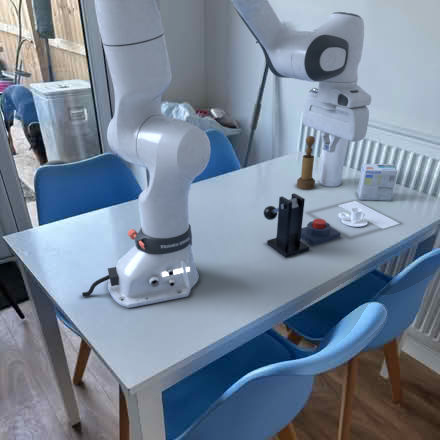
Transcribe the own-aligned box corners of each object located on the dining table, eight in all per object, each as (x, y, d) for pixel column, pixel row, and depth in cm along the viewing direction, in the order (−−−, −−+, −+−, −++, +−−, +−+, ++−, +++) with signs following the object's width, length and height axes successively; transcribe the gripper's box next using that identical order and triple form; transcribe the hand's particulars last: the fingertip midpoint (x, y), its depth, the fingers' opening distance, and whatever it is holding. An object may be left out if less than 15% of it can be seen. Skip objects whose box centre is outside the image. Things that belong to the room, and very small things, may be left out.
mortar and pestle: (293, 184, 158) (298, 134, 148) (309, 182, 160) (314, 132, 150) (301, 190, 153) (306, 139, 143) (317, 188, 155) (324, 137, 144)
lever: (263, 222, 123) (259, 209, 123) (274, 219, 125) (270, 206, 125) (290, 212, 110) (286, 197, 110) (302, 208, 112) (298, 194, 111)
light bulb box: (387, 193, 150) (394, 163, 144) (391, 201, 144) (398, 170, 138) (356, 192, 151) (361, 162, 145) (359, 200, 145) (365, 169, 139)
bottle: (339, 187, 155) (353, 99, 138) (318, 185, 157) (329, 98, 140) (341, 180, 161) (355, 94, 144) (320, 178, 163) (331, 93, 146)
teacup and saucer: (334, 219, 134) (335, 207, 131) (353, 213, 137) (355, 202, 134) (353, 230, 127) (355, 217, 125) (373, 224, 130) (375, 212, 128)
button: (317, 230, 121) (318, 225, 120) (309, 225, 123) (310, 220, 122) (327, 227, 122) (328, 222, 121) (319, 223, 125) (320, 217, 124)
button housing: (312, 246, 120) (314, 235, 118) (295, 234, 126) (296, 224, 124) (339, 237, 124) (341, 227, 122) (321, 227, 129) (323, 216, 127)
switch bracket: (266, 244, 121) (269, 195, 113) (289, 237, 124) (293, 189, 116) (285, 258, 115) (289, 207, 106) (309, 250, 118) (315, 200, 109)
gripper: (299, 87, 108) (294, 142, 116) (356, 101, 94) (346, 163, 102) (318, 85, 111) (312, 139, 119) (377, 98, 96) (365, 159, 104)
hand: (328, 150), depth 110 cm, fingers closed
